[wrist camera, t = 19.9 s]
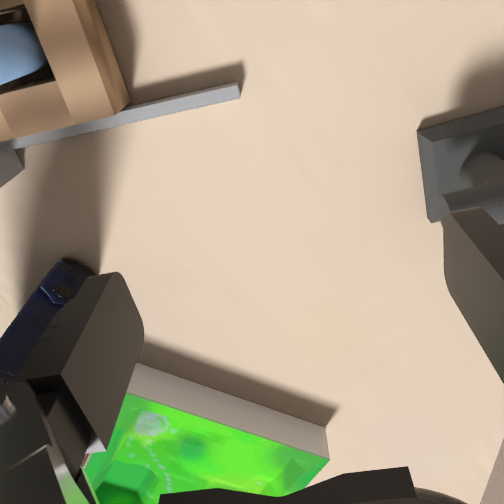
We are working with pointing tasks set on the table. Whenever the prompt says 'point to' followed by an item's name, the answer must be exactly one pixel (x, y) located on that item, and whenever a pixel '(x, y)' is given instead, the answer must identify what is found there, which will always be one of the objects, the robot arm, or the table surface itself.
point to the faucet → (464, 165)
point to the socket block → (63, 71)
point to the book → (39, 315)
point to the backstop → (114, 122)
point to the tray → (201, 444)
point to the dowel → (20, 51)
